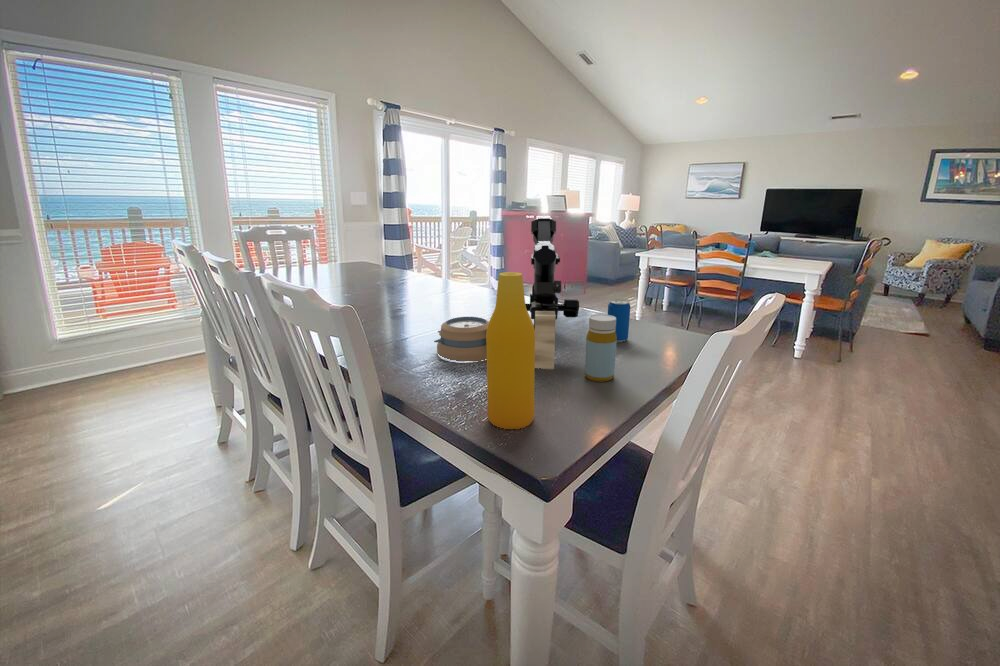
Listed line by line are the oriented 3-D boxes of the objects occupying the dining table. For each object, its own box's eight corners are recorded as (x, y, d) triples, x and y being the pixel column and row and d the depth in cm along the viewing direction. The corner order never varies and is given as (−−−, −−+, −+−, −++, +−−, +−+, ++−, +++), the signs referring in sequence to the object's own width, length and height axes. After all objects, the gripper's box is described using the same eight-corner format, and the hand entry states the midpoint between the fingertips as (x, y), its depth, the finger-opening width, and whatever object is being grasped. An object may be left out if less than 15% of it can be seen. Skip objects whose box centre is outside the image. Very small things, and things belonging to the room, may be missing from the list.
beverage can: (625, 336, 139) (628, 299, 135) (629, 343, 132) (632, 304, 129) (604, 336, 139) (607, 298, 136) (607, 342, 133) (609, 303, 130)
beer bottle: (479, 425, 86) (475, 276, 77) (499, 405, 94) (497, 268, 85) (524, 435, 82) (525, 279, 74) (540, 413, 90) (543, 271, 82)
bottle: (615, 373, 110) (619, 314, 106) (612, 384, 104) (616, 322, 100) (586, 370, 112) (589, 312, 108) (582, 380, 106) (585, 320, 102)
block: (534, 361, 119) (535, 310, 115) (553, 361, 118) (554, 310, 114) (534, 368, 114) (535, 315, 110) (554, 369, 113) (555, 316, 109)
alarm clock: (438, 314, 131) (516, 313, 132) (440, 344, 134) (516, 342, 134) (431, 331, 115) (520, 329, 115) (433, 364, 118) (520, 363, 118)
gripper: (510, 269, 120) (507, 319, 112) (580, 269, 118) (582, 320, 111) (511, 292, 130) (509, 339, 122) (576, 292, 128) (578, 340, 121)
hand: (544, 335), depth 119 cm, fingers closed
